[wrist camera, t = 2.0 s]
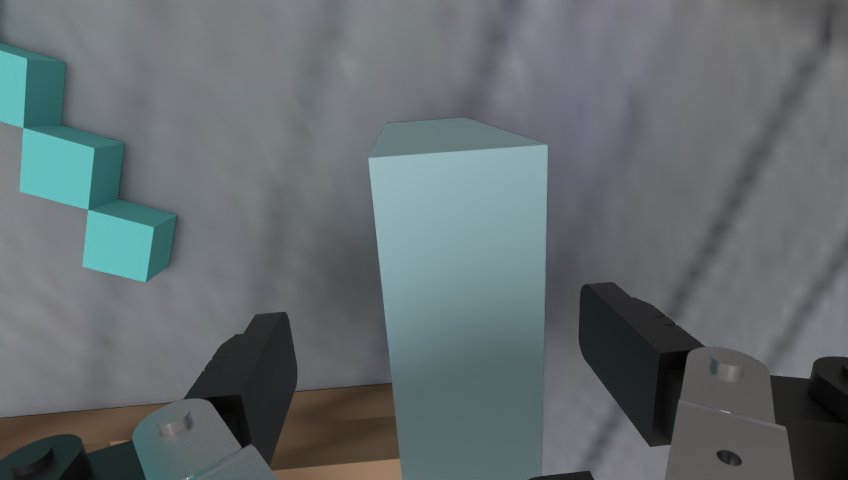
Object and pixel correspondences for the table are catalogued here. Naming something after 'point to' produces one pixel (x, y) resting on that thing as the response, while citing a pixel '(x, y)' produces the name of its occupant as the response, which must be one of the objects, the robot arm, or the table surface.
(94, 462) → the robot arm
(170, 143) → the table surface
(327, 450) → the slotted rail
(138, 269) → the alien figure
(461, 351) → the notched plate
